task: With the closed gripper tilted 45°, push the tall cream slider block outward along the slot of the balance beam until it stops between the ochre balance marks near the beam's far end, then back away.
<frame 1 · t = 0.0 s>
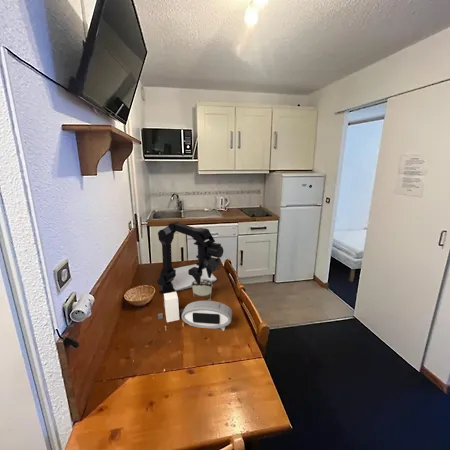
hand: (204, 281, 131), 15 cm above the table, tool pointing down, fingers open, 9 cm apart
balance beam: (172, 317, 126), on the table
food container: (203, 296, 144), on the table
alarm clock: (207, 326, 119), on the table
square plate: (190, 279, 165), on the table
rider: (171, 307, 122), point 7 cm above the table, slide at 2.0 cm
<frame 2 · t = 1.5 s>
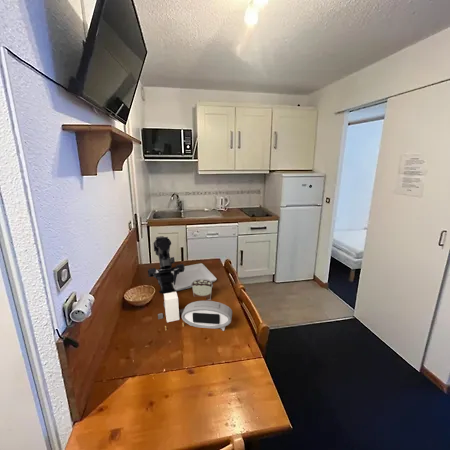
hand: (168, 286, 130), 13 cm above the table, tool tilted 45°, fingers open, 6 cm apart
nothing on the table moved.
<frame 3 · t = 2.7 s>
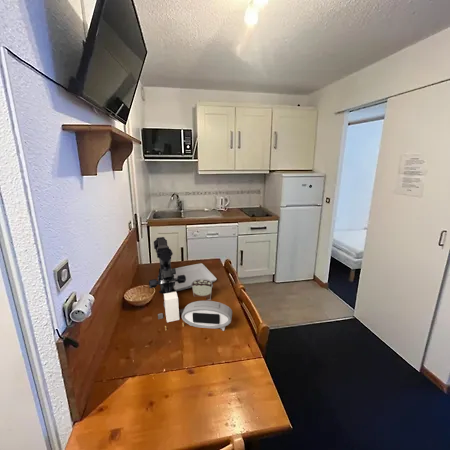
hand: (169, 297, 129), 8 cm above the table, tool tilted 45°, fingers closed
nothing on the table moved.
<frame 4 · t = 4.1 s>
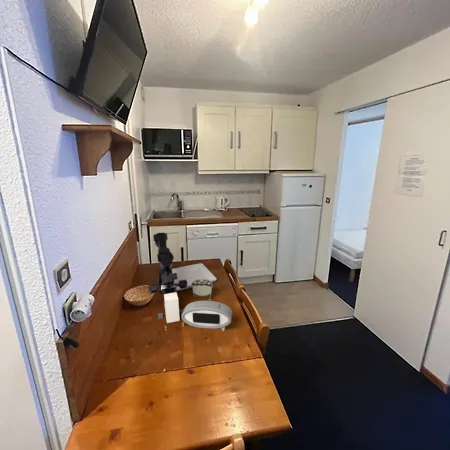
hand: (170, 303, 124), 8 cm above the table, tool tilted 45°, fingers closed, pressing on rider
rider: (171, 308, 122), point 7 cm above the table, slide at 2.6 cm, touching gripper
everything else where it was.
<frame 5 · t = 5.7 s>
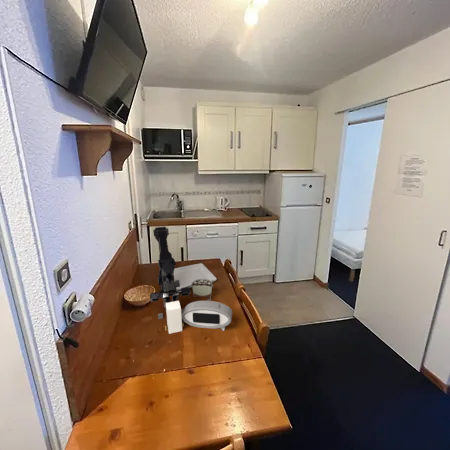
hand: (172, 312, 117), 8 cm above the table, tool tilted 45°, fingers closed, pressing on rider
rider: (174, 317, 114), point 7 cm above the table, slide at 10.4 cm, touching gripper
everything else where it was.
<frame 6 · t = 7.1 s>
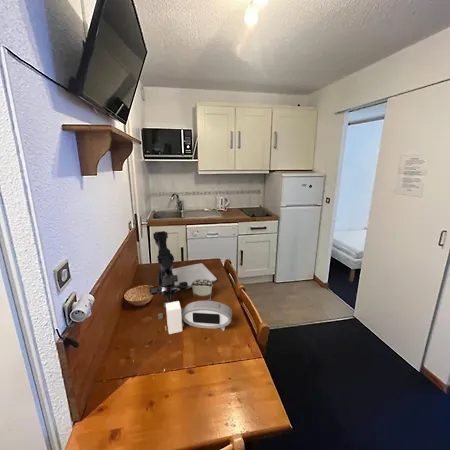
hand: (171, 305, 124), 7 cm above the table, tool tilted 45°, fingers closed
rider: (174, 318, 114), point 7 cm above the table, slide at 10.7 cm
everything else where it was.
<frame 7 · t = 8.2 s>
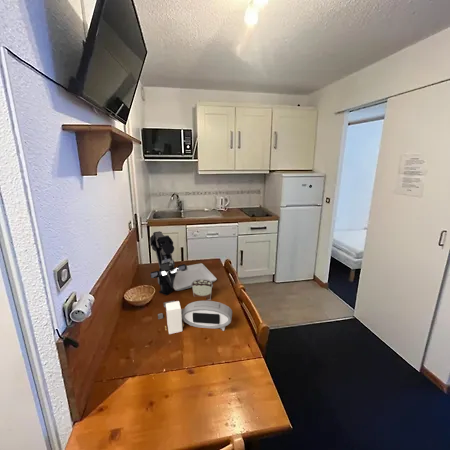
hand: (172, 287, 131), 12 cm above the table, tool tilted 35°, fingers closed
nothing on the table moved.
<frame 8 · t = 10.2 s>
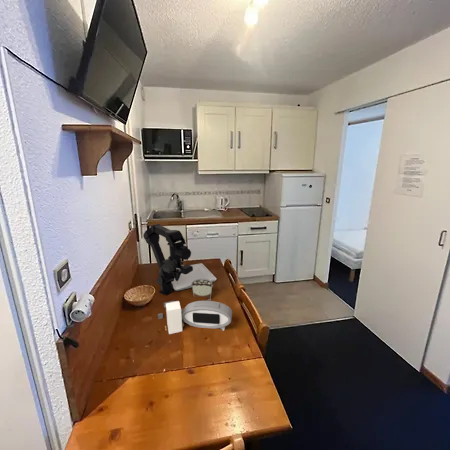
hand: (177, 280, 138), 12 cm above the table, tool pointing down, fingers closed
nothing on the table moved.
at the end: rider slide at 10.7 cm; alarm clock moved 0.3 cm from its start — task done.
